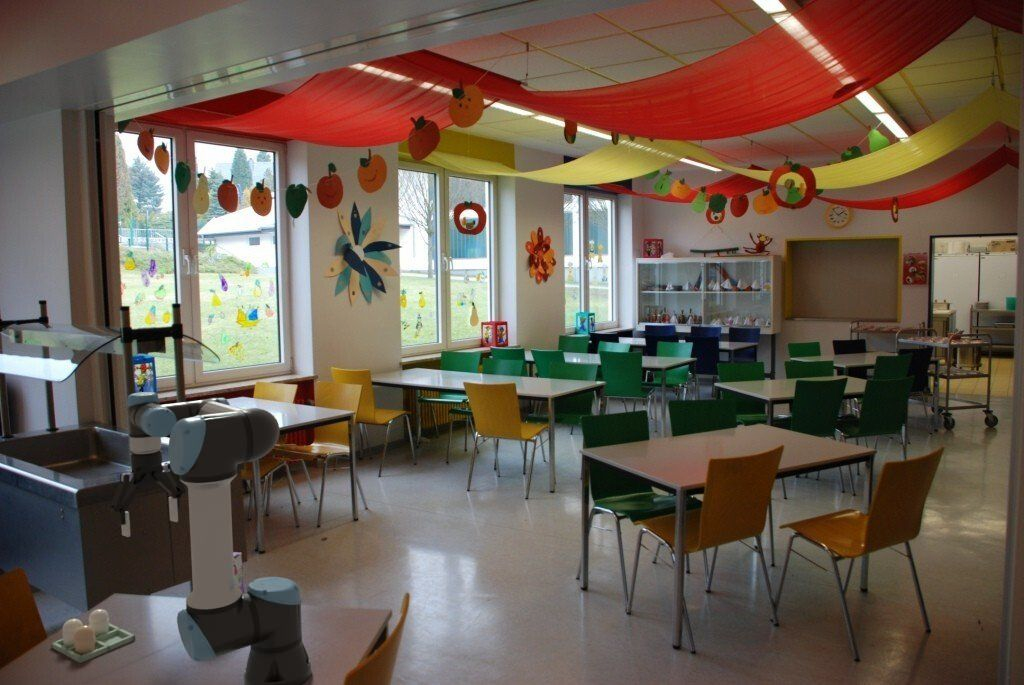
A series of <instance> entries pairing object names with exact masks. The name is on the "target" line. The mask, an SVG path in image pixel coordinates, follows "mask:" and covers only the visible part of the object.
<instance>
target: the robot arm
mask: <svg viewBox="0 0 1024 685" xmlns="http://www.w3.org/2000/svg"><path fill="white" fill-rule="evenodd" d="M126 399H127V400H126V402H127V404H126V409H127V416H128V417H127V419H128V420H127V421H128V433H129V447H130V449H129V450H130V451H131V453H130V465H131V472H128V473H124V472H121V473H120V475H119V483H118V485H117V487H116V490H115V493H114V495H113V498H112V501H111V503H110V506H109V509H108V510H109V511H111V512H113V513H117V522H118V525H121V526H120V527H121V535H122V536H124V537H127V538H129V537H131V521H130V512H129V511H127V510H128V508H129V506H130V505H131V504H132V502H133V501H134V500H135V499H134V498H135V497H136V496H137V494H138V492H139V491H140V490H141V489H143V487H148V486H150V485H152V486H153V485H156V484H158V485H159V486H160V487H161V488H163V490H165V492H167V493H168V494H169V495H170V496H169V497H168V509H169V510H168V511H169V512H168V513H169V521H170V522H174V523H177V522H179V513H178V512H179V511H178V509H180V507H181V506H180V505H181V502H180V499H181V498H182V496H183V495H184V494H185V493H186V492H187V490H188V493H187V494H188V495H187V496H188V510H189V512H188V514H189V515H188V516H189V534H190V536H189V537H190V538H189V539H190V553H191V554H190V555H191V558H190V559H191V576H192V591H191V592H190V593H189V594H188V595H187V596H186V599H185V607H186V608H185V609H182V610H180V611H179V612H177V616H176V623H177V629H178V633H179V637H180V640H181V642H182V645H183V647H184V649H185V651H186V653H187V655H188V656H189V658H190V659H191V660H193V661H195V662H204V661H207V660H210V659H217V657H220V656H223V655H226V654H229V653H232V652H236V651H238V650H241V649H244V648H246V647H250V650H249V654H248V657H247V662H246V666H245V668H244V671H243V681H244V682H243V683H244V685H302V683H303V682H304V683H305V682H306V681H307V680H308V679H309V678H310V676H311V674H312V666H311V665H312V664H311V659H310V657H309V654H308V653H307V650H306V647H305V645H304V643H303V631H302V628H303V626H302V599H301V598H302V597H301V591H300V586H299V584H298V583H296V581H294V580H292V579H290V578H287V577H280V576H279V577H278V576H265V577H260V578H259V577H258V578H256V579H254V580H252V581H250V582H248V584H247V587H246V592H245V591H244V593H242V591H241V589H240V588H239V587H237V586H236V585H234V562H233V552H234V543H233V542H234V541H233V522H232V521H233V519H232V495H231V494H232V493H231V482H232V481H233V480H234V479H235V478H236V477H237V475H238V465H241V464H244V463H250V462H253V461H256V460H259V459H261V458H263V457H265V456H266V455H268V454H269V453H270V452H271V451H272V450H273V449H274V448H275V446H276V445H277V443H278V440H279V438H280V425H279V422H278V419H277V418H276V417H275V416H274V414H273V413H271V412H269V410H265V409H261V408H259V407H258V408H257V407H250V408H246V409H245V408H241V407H238V406H234V405H231V404H230V402H229V401H228V400H227V398H225V397H210V398H206V399H200V400H199V399H198V400H190V401H183V402H182V401H181V402H173V403H172V402H171V403H164V404H161V403H160V401H159V395H158V393H156V392H153V391H142V392H135V393H131V394H129V395H128V396H127V398H126ZM168 436H169V441H168V459H169V462H165V463H164V464H163V465H162V463H163V455H162V454H163V452H162V450H161V449H162V447H163V446H162V438H166V437H168ZM163 472H164V473H166V475H167V477H168V479H169V481H170V482H171V483H172V485H171V484H170V483H169V482H168V481H167V480H166V479H165V478H164V476H162V474H163ZM178 475H179V476H178ZM130 482H131V483H130ZM184 485H185V486H186V487H187V490H186V488H185V486H184ZM129 486H130V487H129ZM308 677H309V678H308ZM304 683H303V684H304Z"/></svg>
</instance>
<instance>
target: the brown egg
mask: <svg viewBox="0 0 1024 685" xmlns="http://www.w3.org/2000/svg"><path fill="white" fill-rule="evenodd" d="M74 646H75V653H77V654H79V655H81V656H82V655H85V654H87V653H90V652H92V651H94V650H96V643H95V631H94V629H93V628H92V627H91V626H89V624H88V625H87V624H85V625H84V624H83V626H81V627H79V628H78V629H77V630H76V631H75V633H74Z"/></svg>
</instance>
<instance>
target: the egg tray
mask: <svg viewBox="0 0 1024 685" xmlns="http://www.w3.org/2000/svg"><path fill="white" fill-rule="evenodd" d="M109 630H110V632H108V633H105V634H103V635H100V636H98V637H95V643H96V650H94V651H92V652H90V653H87V654H85V655H82V656H81V655H79V654H77V653H75V646H73V647H71V648H68V649H67V648H66V647H64V645H63V638H60V639H58V640H55V641H53V642H51V645H50V646H51V648H52V649H54V650H55V651H56V652H59V653H61V654H62V655H65V657H68V658H70V659H72V660H74V661H76V662H78V663H79V664H80V663H85V662H87V661H89V660H90V659H93V658H96V657H98V656H100V655H103V654H105V653H107V652H109V651H112V650H114V649H117V648H119V647H121V646H124V645H127V644H129V643H132V642H133V641H136V635H135V634H133V633H131V632H130V631H127V630H125V629H123V628H121V627H118V626H116V625H114V624H112V623H110V622H109Z"/></svg>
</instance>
